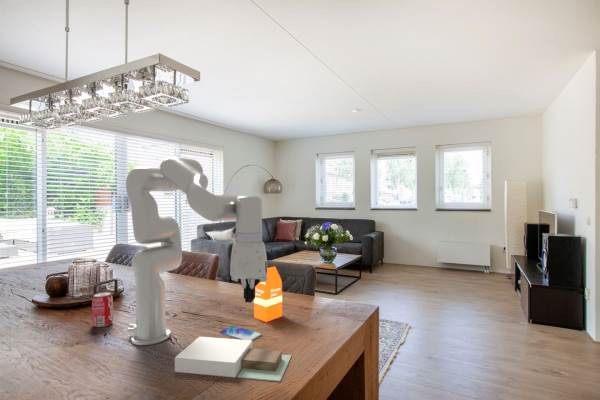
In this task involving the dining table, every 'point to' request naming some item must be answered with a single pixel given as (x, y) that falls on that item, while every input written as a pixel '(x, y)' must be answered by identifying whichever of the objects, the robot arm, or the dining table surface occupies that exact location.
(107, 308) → the soda can
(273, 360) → the walnut tile
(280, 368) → the mat
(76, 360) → the dining table surface
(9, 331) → the dining table surface
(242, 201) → the robot arm
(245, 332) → the smartphone
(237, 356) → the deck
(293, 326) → the dining table surface
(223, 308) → the dining table surface
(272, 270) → the orange juice
